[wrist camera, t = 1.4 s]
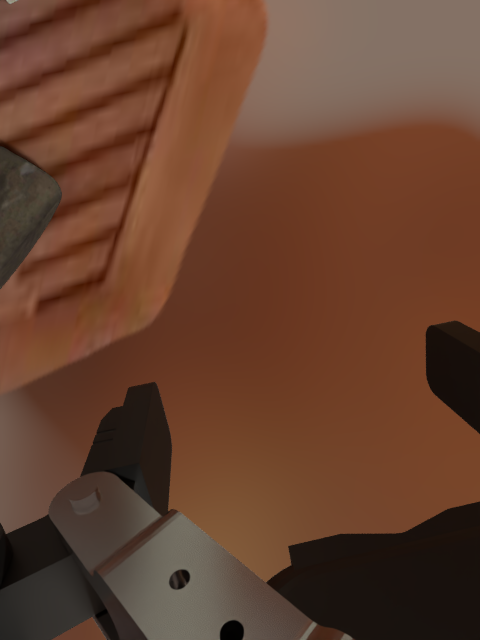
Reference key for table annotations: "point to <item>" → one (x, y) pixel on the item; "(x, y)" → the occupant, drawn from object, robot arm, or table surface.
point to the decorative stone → (22, 209)
